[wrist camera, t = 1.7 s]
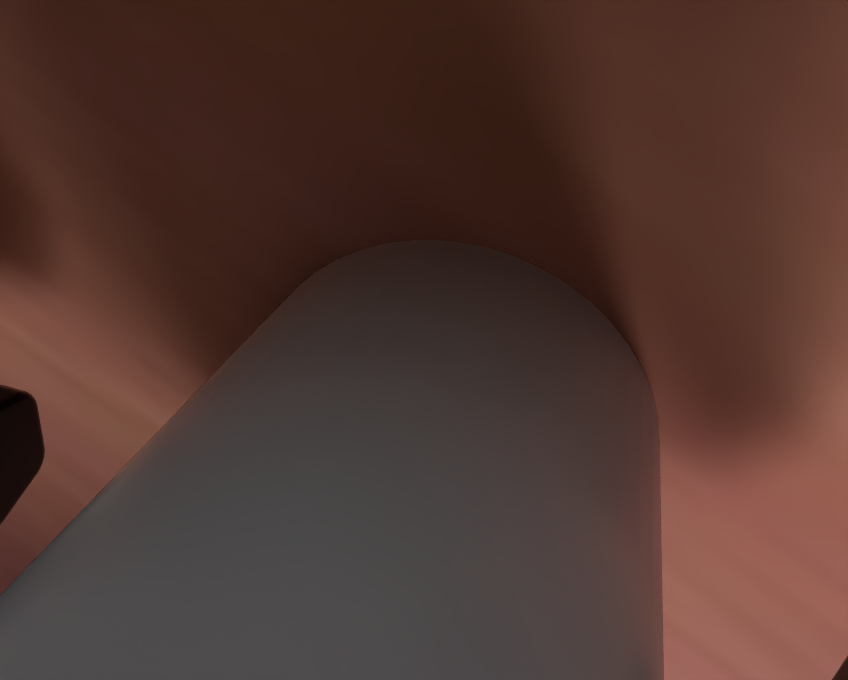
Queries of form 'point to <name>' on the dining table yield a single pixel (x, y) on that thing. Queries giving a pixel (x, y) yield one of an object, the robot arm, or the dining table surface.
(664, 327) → the dining table surface
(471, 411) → the grey canister
